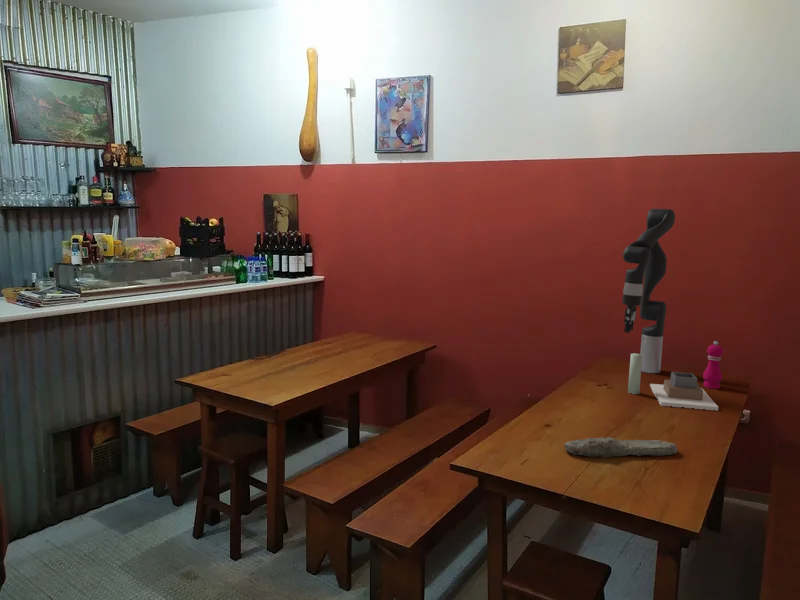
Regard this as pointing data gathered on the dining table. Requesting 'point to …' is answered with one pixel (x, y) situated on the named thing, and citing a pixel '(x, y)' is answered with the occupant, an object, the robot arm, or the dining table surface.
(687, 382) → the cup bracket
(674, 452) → the elongated rock
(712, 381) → the pepper mill
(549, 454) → the dining table surface
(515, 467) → the dining table surface
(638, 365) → the green dowel
